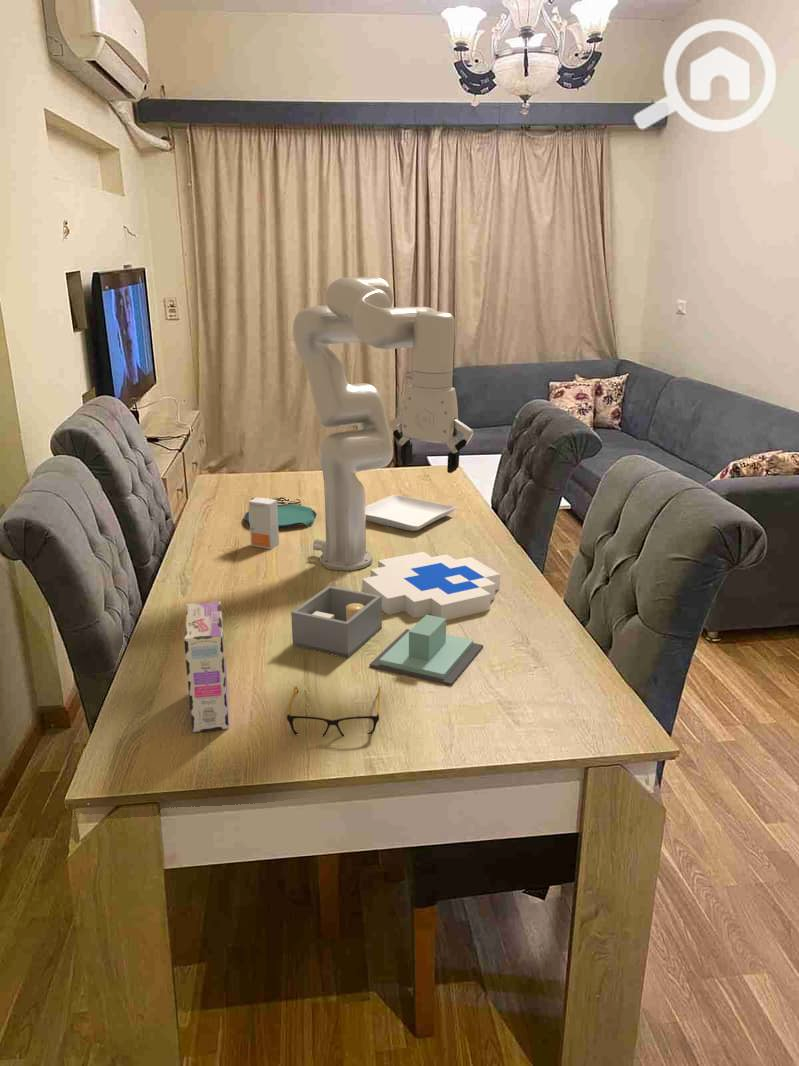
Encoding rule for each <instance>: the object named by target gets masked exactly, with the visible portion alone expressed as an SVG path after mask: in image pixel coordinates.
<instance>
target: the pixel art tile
mask: <svg viewBox="0 0 799 1066" xmlns="http://www.w3.org/2000/svg"><path fill="white" fill-rule="evenodd" d="M377 562H378V563H377V564H378V565H377V567H375V568H370V571H369V572H370V573H369V574H370V576H367V577H364V578H361V581H362V582H361V584H362V585H361V592H363V593H368V594H373V595H378V596H382V612H384V613H385V612H386V613H387V614H386V613H385V614H386V615H392V613H393V614H396V612H397V613H401V611H402V612H406V613H407V614H408V615H409V616H410V617H412V618H413V617H414V618H413V619H415V618H416V617H417V618H420V617H425V616H426V615H429V614H430V615H431V616H436V617H441V618H446V621H449V620H453V619H457V618H462V617H466V616H469V615H470V616H471V615H475V614H479V613H483V612H487V611H490V610H491V601H495V600H496V591H498V590H500V586H501V573H499V572H497V570H496V571H495V570H494V569H492V568H490V567H489V566H487V565H485V564H483V563H482V562H480V561H478V560H477V559H476V558H473V557H471V556H468V557H463V558H459V559H455V558H454V557H452V556H451V555H450V554H447V553H446V554H442V555H436V556H431V555H429V554H428V553H426V552H424V551H420V552H414V553H410V554H404V555H400V556H394V557H389V558H385V559H379V560H378V561H377Z"/></svg>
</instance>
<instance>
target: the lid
mask: <svg viewBox="0 0 799 1066" xmlns="http://www.w3.org/2000/svg"><path fill="white" fill-rule="evenodd" d="M473 643H474V639H470V638H468V637H461V636H456V635H452V634H447V620H446V618H441V617H436V616H433V615H431V614H430V615H425V616H423V617H422V618H421V619H420V620H419V621H418V622H417V623H416V624H415V625H414V626H413V627H411V628H410V629H409V631H408V632H407V633H406V634H405V635H404V636H403V637H402V638H401V639H400V640H399V641H398V642H397V643H396V644H395V645H394V646H393V647H392V648H391V649H390V650H389V651H388V652H387V653H386V654H385V655H384V656H383V657H381V658H380V659H379V661H380V665H384V666H389V667H393V668H397V669H402V670H406V671H410V672H415V673H419V674H423V675H428V676H432V677H436V678H441V679H445V678H446V676H447V675H448V674H449V673H450V672H451V671H452V669H453V668H454V667H455V666H456V665H457V663H458V662H459V661H460V660H461V659H462V657H463V656H464V655H465V654H466V653H467V651H468V650H469V649H470V648H471V647H472V645H473Z"/></svg>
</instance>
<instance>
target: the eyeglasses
mask: <svg viewBox="0 0 799 1066" xmlns="http://www.w3.org/2000/svg"><path fill="white" fill-rule="evenodd" d="M298 691H299V688H298V686H297V685H294V689H293V692H292V695H291V700H290V704H289V707H288V712H287V715H286V720H287V722H288V723H289V726H290V729H291V731H292V733H293V734H294V735H296V734H298V733H299V732H297V731H296V730H295V727H294V720H296V719H297V720H298V719H306V720H309V719H310V720H316V721H317V720H318V721H323V722H325V723H326V724H327V726H326V728H325V731H324V732H323V733H322V735H323V736H322V737H325V736H326V734H327V732H328V730H329V728H330V727H331V726H335V727H336V729H337V731H338V733H339V734H340V735H341V736H342V737H345V736H344V735H345V734H344V733H343V732H342V730H341V728H340V726H339V723H340V722H343V721H346V720H347V721H348V720H356V719H357V720H358V719H359V720H360V719H362V720H363V719H369V720H372V724H373V725H372V729H371V731H370V732H369V733H367V734H371V735H373V734H374V732H375V729H376V726H377V723H378V722H379V721H380V697H381V696H380V695H381V686H380V685H378V695H377V697H378V698H377V713H376V715H365V716H350V717H349V716H348V717H342V718H338V719H329V718H324V717H316V716H306V715H305V716H303V715H291V710H292V707H293V706H292V705H293V702H294V699H295V698H294V697H295V694H296V693H297V694H298V693H299V692H300V691H299V692H298Z"/></svg>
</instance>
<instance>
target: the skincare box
mask: <svg viewBox="0 0 799 1066" xmlns="http://www.w3.org/2000/svg"><path fill="white" fill-rule="evenodd" d="M254 498H255V499H253V500H251V499H250V500H248V512H249V517H250V524H249V533H250V546H251V547H258V548H261V549H269V550H272V549H274V548H275V547H277V546H278V545H280V538H279V537H280V535H279V528H278V509H277V505H278V503H277V502H278V500H274V499H273V498H268V497H267V498H266V497H258V496H256V497H254Z"/></svg>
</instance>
